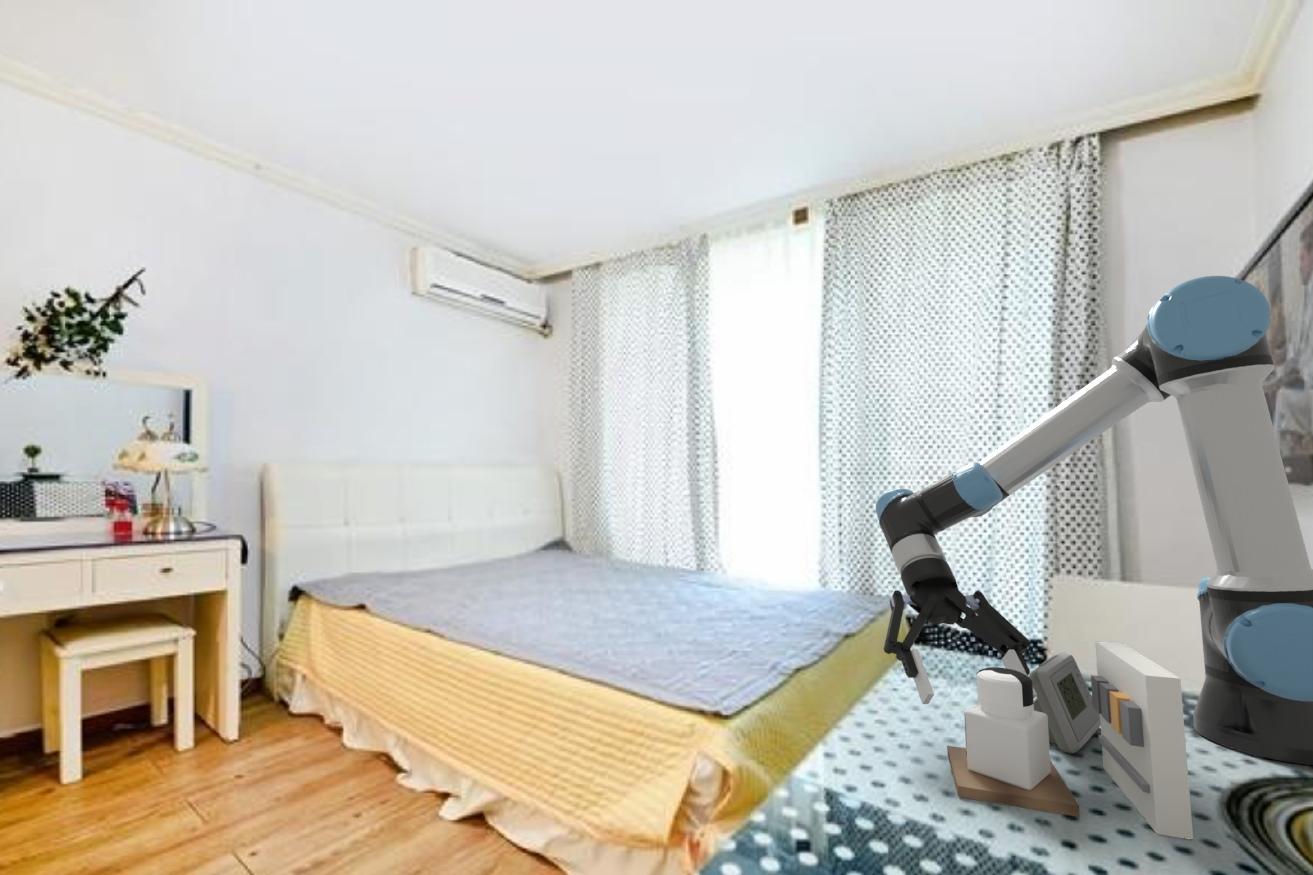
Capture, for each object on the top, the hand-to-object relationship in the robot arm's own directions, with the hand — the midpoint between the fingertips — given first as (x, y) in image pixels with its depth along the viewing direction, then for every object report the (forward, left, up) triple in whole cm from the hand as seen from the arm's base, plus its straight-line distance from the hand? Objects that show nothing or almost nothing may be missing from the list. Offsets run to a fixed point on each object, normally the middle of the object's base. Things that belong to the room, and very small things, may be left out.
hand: (979, 700), depth 79 cm
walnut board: (-2, +5, -8) cm, 10 cm away
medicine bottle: (-2, +5, -7) cm, 9 cm away
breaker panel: (-16, +4, -8) cm, 18 cm away
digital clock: (-13, -14, -8) cm, 21 cm away
